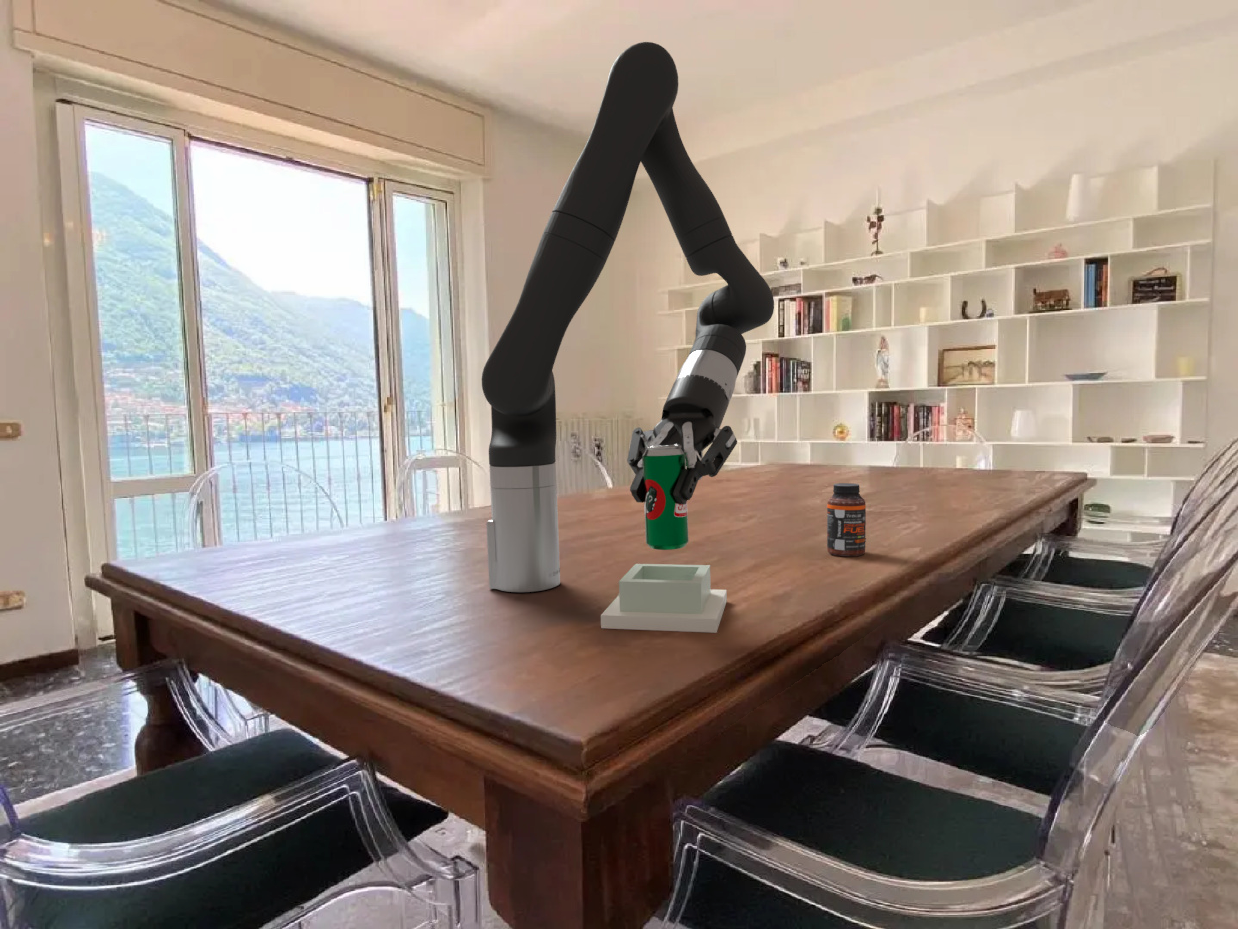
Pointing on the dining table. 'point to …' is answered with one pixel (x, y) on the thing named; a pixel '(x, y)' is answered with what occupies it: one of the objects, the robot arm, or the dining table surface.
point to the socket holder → (666, 600)
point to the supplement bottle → (846, 521)
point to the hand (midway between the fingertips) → (657, 498)
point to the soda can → (664, 497)
